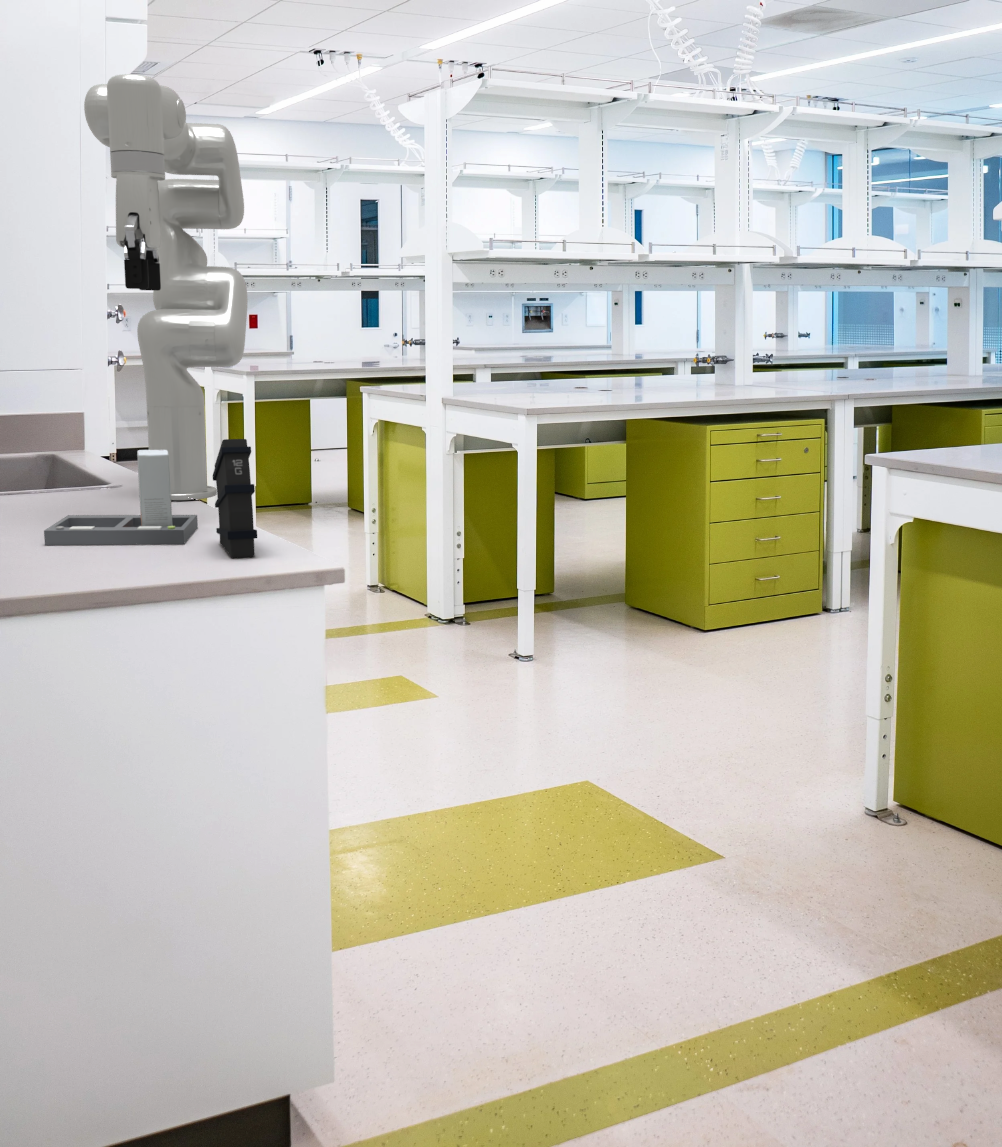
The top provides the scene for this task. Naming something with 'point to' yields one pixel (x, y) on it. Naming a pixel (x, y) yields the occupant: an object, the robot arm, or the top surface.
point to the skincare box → (154, 488)
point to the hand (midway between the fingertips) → (143, 289)
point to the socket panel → (118, 530)
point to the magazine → (235, 498)
